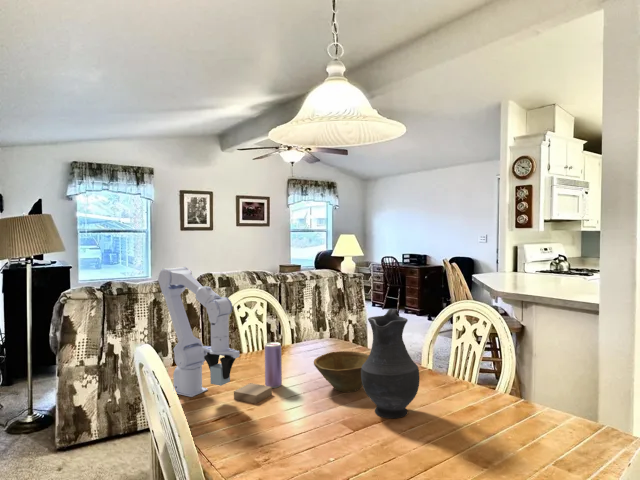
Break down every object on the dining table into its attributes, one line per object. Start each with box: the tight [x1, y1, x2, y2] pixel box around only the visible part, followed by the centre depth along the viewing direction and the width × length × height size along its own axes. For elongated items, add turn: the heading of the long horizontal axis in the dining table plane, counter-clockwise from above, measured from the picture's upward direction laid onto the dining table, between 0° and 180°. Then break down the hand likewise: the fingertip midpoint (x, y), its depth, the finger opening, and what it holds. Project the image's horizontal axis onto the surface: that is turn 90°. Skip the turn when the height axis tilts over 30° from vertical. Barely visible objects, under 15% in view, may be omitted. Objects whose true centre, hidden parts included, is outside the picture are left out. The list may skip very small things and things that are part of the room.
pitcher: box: [361, 308, 420, 419], centre depth 133 cm, size 17×21×30 cm
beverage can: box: [264, 341, 283, 389], centre depth 157 cm, size 6×6×15 cm
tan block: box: [233, 382, 273, 404], centre depth 146 cm, size 9×9×3 cm
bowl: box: [313, 350, 370, 393], centre depth 154 cm, size 22×23×10 cm
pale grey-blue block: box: [209, 362, 231, 387], centre depth 142 cm, size 4×4×6 cm
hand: (220, 377), depth 142 cm, fingers closed on pale grey-blue block, 4 cm apart
